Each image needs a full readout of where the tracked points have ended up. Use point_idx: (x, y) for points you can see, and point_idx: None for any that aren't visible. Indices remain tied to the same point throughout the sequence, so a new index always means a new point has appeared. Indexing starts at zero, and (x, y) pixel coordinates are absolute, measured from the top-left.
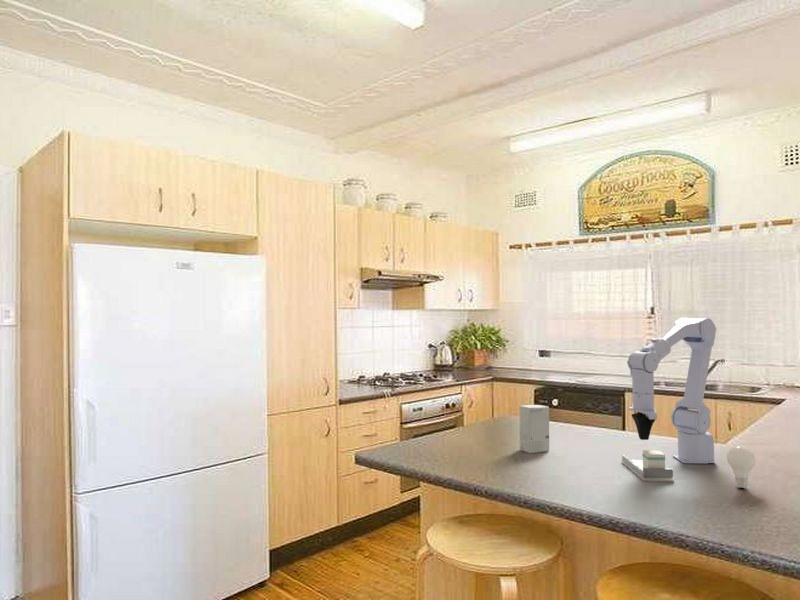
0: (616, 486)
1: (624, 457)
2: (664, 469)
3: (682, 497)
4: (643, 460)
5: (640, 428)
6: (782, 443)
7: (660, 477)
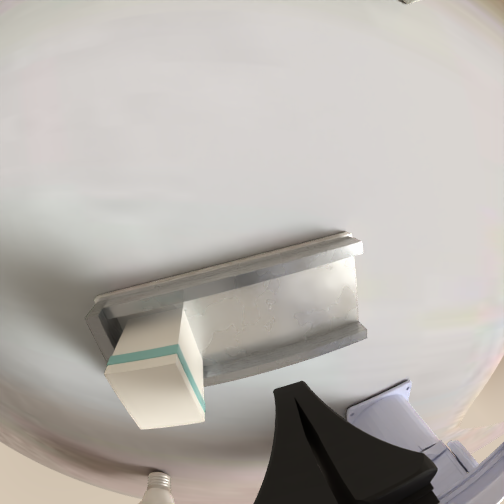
0: (14, 196)
1: (331, 248)
2: None
3: (19, 364)
4: (169, 335)
5: (274, 451)
6: None
7: None
